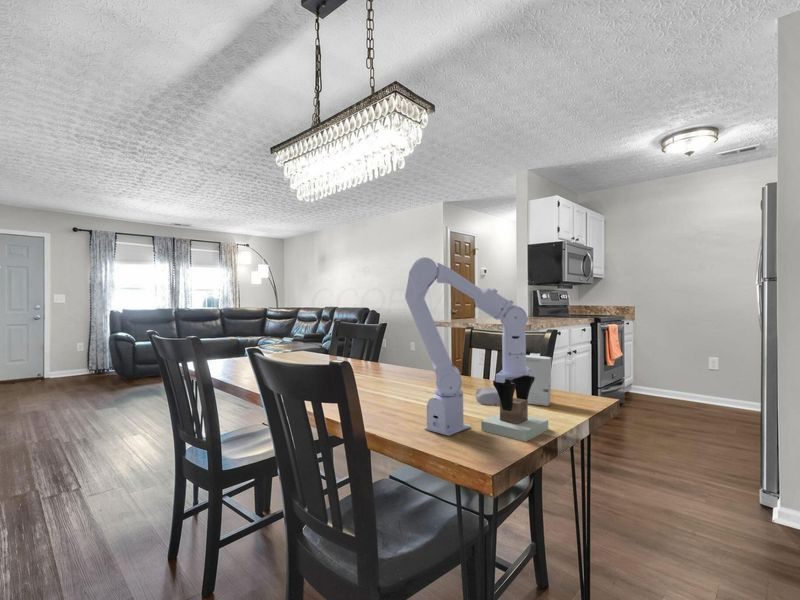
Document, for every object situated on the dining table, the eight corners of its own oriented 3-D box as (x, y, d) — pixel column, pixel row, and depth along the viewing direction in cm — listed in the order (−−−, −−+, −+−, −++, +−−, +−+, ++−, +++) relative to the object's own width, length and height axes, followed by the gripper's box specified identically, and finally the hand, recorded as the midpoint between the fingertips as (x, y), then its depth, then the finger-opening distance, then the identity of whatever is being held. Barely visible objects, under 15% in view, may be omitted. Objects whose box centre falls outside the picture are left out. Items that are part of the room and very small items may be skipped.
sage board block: (526, 444, 92) (525, 431, 92) (481, 432, 100) (481, 420, 100) (548, 431, 100) (548, 419, 101) (505, 422, 109) (505, 411, 109)
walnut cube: (518, 424, 97) (518, 403, 97) (499, 420, 100) (499, 400, 100) (527, 420, 101) (527, 400, 101) (509, 416, 104) (509, 397, 104)
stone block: (479, 411, 125) (511, 405, 124) (476, 395, 125) (507, 389, 124) (475, 403, 137) (504, 397, 136) (472, 389, 137) (501, 383, 136)
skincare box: (521, 403, 126) (521, 356, 126) (525, 399, 131) (524, 354, 131) (549, 406, 122) (549, 358, 122) (552, 402, 127) (551, 355, 128)
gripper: (514, 357, 93) (514, 416, 92) (542, 351, 103) (542, 404, 103) (487, 355, 97) (488, 410, 97) (516, 349, 108) (517, 399, 108)
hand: (514, 407), depth 100 cm, fingers open, 7 cm apart
